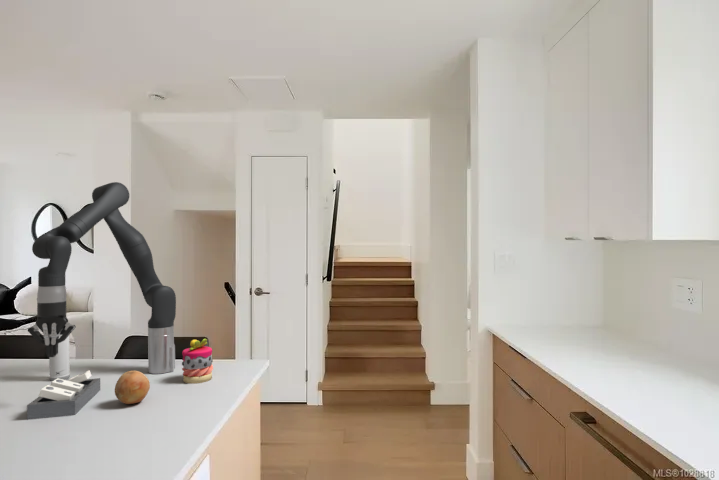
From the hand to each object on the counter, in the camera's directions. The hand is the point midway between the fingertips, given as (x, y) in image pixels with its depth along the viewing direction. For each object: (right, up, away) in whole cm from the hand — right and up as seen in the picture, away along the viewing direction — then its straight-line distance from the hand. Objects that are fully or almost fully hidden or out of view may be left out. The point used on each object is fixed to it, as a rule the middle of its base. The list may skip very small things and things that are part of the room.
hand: (51, 356), depth 142 cm
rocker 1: (+6, -9, -7) cm, 13 cm away
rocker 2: (+2, -10, +8) cm, 13 cm away
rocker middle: (+4, -9, +1) cm, 10 cm away
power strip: (+3, -15, +5) cm, 16 cm away
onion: (+25, -15, 0) cm, 29 cm away
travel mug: (-16, -16, +28) cm, 36 cm away
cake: (+37, -15, +24) cm, 46 cm away
